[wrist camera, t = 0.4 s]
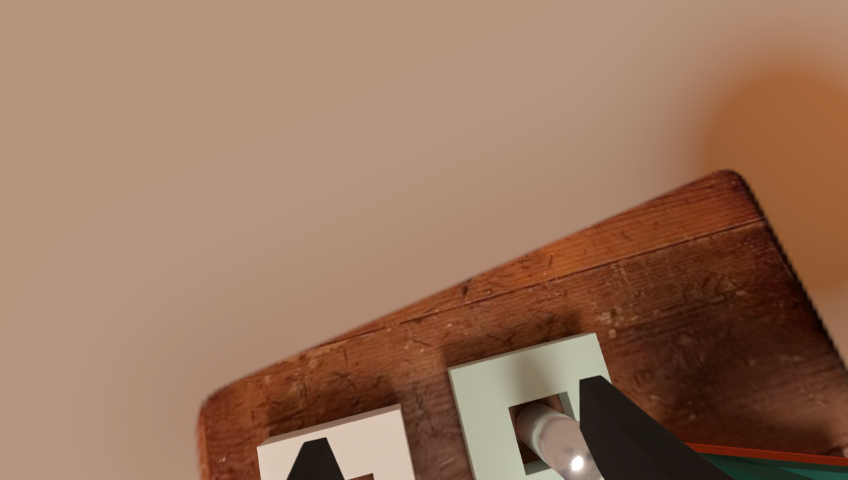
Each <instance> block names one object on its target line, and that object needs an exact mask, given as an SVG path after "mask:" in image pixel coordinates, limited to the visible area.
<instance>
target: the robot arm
mask: <svg viewBox="0 0 848 480" xmlns="http://www.w3.org/2000/svg"><path fill="white" fill-rule="evenodd" d="M579 417H580V431H581V433H582V435H583V438H584V440H585V442H586V444H587V447H588V449H589V451H590V453H591V455H592V458H593V460H594V462H595V464H596V466H597V468H598V470H599V471H600V473H601V475H602V477H603V478H604V480H736V479H734V478H733V477H731V476H730V475H728V474H727V473H725V472H724V471H722V470H721V469H720V468H718V467H717V466H715V465H714V464H713V463H711V462H710V461H708V460H707V459H706V458H704V457H703V456H701V455H700V454H699V453H697V452H696V451H695V450H693V449H692V448H691V447H689V446H688V445H687V444H685V443H684V442H683V441H681V440H680V439H679V438H677V437H676V436H675V435H674V434H672V433H671V432H670V431H668V430H667V429H666V428H665V427H663V426H662V425H661V424H659V423H658V422H657V421H656V420H654V419H653V418H652V417H651V416H649V415H648V414H647V413H646V412H645V411H643V410H642V409H641V408H640V407H638V406H637V405H636V404H635V403H634V402H632V401H631V400H630V399H629V398H628V397H627V396H625V395H624V394H623V393H622V392H621V391H619V390H618V389H617V388H616V387H615V386H614V385H612V384H611V383H610V382H609V381H608V380H607V379H605V378H604V377H603V376H601V375H597V376H593V377H589V378H584V379H580V380H579ZM286 480H345V479H344V477H343V474H342V472H341V470H340V467H339V465H338V463H337V461H336V458H335V456H334V454H333V451H332V449H331V447H330V444H329V442H328V440H327V438H326V437H324V438H319V439H315V440H310V441H306V442H304V443H303V445H302V446H301V448H300V451H299V453H298V455H297V457H296V460H295V462H294V464H293V466H292V468H291V471H290V473H289V475H288V477H287V479H286Z"/></svg>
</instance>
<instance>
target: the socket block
mask: <svg viewBox="0 0 848 480" xmlns="http://www.w3.org/2000/svg"><path fill="white" fill-rule="evenodd" d="M447 371H448V375H449V379H450V383H451V387H452V392H453V396H454V400H455V404H456V408H457V413H458V417H459V421H460V425H461V429H462V434H463V438H464V442H465V446H466V450H467V454H468V459H469V463H470V467H471V471H472V475H473V480H565V479H564V478H562V477H561V476H560V475H559V474H558V473H557V472H556V471H555V470H553V469H552V468H551V467H550V466H549V465H548V464H547V463H546V462H545V461H543V460H542V459H540V460H537V461H534V462H530V463H527V464H523V463H522V459H521V455H520V451H519V448H518V444H517V440H516V436H515V433H514V429H513V425H512V421H511V417H510V414H509V410H508V407H510V406H514V405H518V404H521V403H525V402H529V401H532V400H536V399H540V398H544V397H547V396H551V395H555V394H558V395H559V398H560V401H561V405H562V408H563V412H564V415H566V416H568V417H570V418H572V419H574V420H576V421H578V422H580V417H579V380H580V379H584V378H589V377H593V376H597V375H601V376H603V377H604V378H605V379H607V380H608V381H609V382H610V383H611V380H610V377H609V374H608V371H607V368H606V364H605V361H604V358H603V355H602V352H601V349H600V346H599V343H598V340H597V337H596V334H595V333H581V334H577V335H573V336H569V337H565V338H562V339H558V340H554V341H550V342H546V343H542V344H538V345H534V346H530V347H526V348H523V349H519V350H515V351H511V352H507V353H503V354H499V355H495V356H491V357H487V358H484V359H480V360H476V361H472V362H468V363H464V364H460V365H456V366H452V367H448V368H447ZM611 384H612V383H611ZM599 480H604V478H603V477H601V478H600V479H599Z"/></svg>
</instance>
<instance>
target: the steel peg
mask: <svg viewBox="0 0 848 480" xmlns="http://www.w3.org/2000/svg"><path fill="white" fill-rule="evenodd" d="M516 429H517V433H518V435H519V437H520V439H521V440H522V442H523V443H524V444H525V445H527V446H528V447H529V448H530V449H531V450H532V451H533V452H534V453H536V454H537V455H538V456H539V457H540V458H541V459H542V460H543V461H545V462H546V463H547V464H548V465H549V466H550V467H551V468H552V469H553V470H555V471H556V472H557V473H558V474H559V475H560V476H561V477H562V478H564V479H565V480H599V479H600V478H601V477H602V475H601V473H600V471H599V470H598V468H597V466H596V464H595V462H594V460H593V458H592V455H591V453H590V451H589V449H588V447H587V444H586V442H585V440H584V438H583V435H582V433H581V431H580V422H578V421H576V420H574V419H572V418H570V417H568V416H566V415H564V414H562V413H560V412H558V411H556V410H554V409H552V408H550V407H548V406H546V405H544V404H541V403H531V404H528V405H526V406H525V407H524V408H523V409H522V410H521V411H520V413H519V414H518V417H517V421H516Z"/></svg>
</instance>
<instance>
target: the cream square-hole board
mask: <svg viewBox="0 0 848 480" xmlns="http://www.w3.org/2000/svg"><path fill="white" fill-rule="evenodd" d="M324 437H326V438H327V440H328V442H329V444H330V447H331V449H332V451H333V454H334V456H335V458H336V461H337V463H338V465H339V467H340V470H341V472H342V474H343V477H344V479H345V480H349V479H352V478H356V477H359V476H363V475H366V474H370V473H373V475H374V480H416V477H415V472H414V467H413V462H412V458H411V453H410V448H409V443H408V439H407V434H406V429H405V424H404V419H403V415H402V410H401V405H400V403H399V404H395V405H391V406H388V407H384V408H380V409H376V410H372V411H368V412H365V413H361V414H357V415H353V416H349V417H346V418H342V419H338V420H334V421H330V422H327V423H323V424H319V425H315V426H311V427H308V428H304V429H300V430H296V431H292V432H289V433H285V434H281V435H277V436H273V437H270V438H268V439H267V440H265V441H264V442H263V443H262V444H260V445H259V446H258V447H257V451H258V459H259V467H260V474H261V480H286V479H287V477H288V475H289V473H290V471H291V468H292V466H293V464H294V462H295V460H296V457H297V455H298V453H299V451H300V448H301V446H302V445H303V443H304V442H306V441H310V440H315V439H319V438H324Z"/></svg>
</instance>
